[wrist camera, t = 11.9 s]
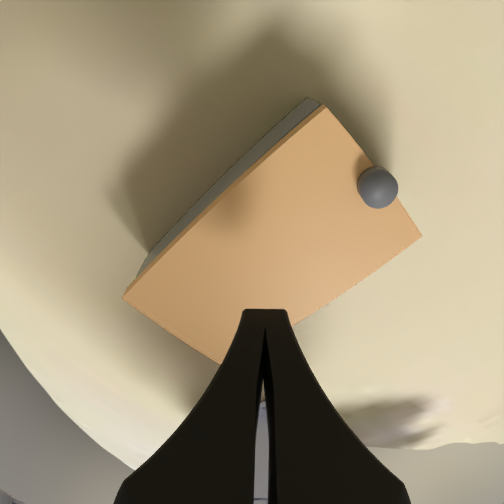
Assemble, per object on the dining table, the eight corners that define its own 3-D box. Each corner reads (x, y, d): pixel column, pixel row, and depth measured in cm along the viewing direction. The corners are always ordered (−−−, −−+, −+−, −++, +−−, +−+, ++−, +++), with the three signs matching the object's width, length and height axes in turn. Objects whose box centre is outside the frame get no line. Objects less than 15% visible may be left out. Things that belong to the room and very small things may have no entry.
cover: (224, 355, 17) (222, 375, 16) (127, 287, 15) (117, 306, 14) (420, 222, 13) (433, 239, 11) (328, 99, 10) (337, 103, 9)
